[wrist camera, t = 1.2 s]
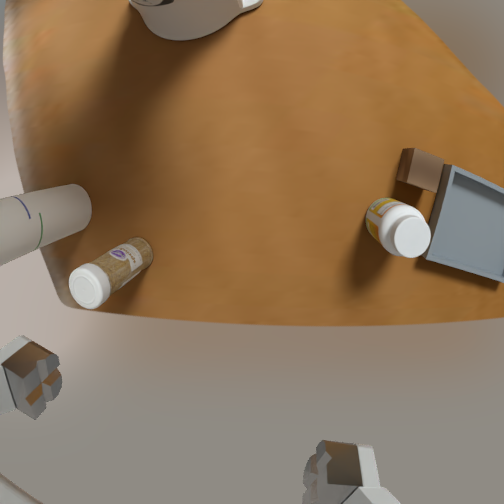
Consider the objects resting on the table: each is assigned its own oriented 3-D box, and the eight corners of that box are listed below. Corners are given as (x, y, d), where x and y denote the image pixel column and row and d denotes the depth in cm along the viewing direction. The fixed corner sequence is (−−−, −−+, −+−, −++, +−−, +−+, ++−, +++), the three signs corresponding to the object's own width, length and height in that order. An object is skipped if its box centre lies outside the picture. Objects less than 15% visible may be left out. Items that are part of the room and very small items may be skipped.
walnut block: (402, 148, 34) (414, 148, 30) (430, 159, 34) (444, 159, 30) (395, 179, 35) (406, 182, 31) (423, 189, 35) (436, 192, 31)
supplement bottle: (396, 245, 37) (425, 271, 28) (358, 233, 37) (379, 256, 28) (410, 205, 35) (444, 220, 26) (372, 191, 36) (398, 201, 26)
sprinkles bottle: (154, 239, 41) (100, 274, 28) (153, 271, 42) (102, 315, 29) (125, 233, 41) (65, 264, 28) (124, 265, 42) (68, 304, 30)
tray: (443, 164, 33) (452, 164, 31) (524, 202, 32) (533, 205, 30) (419, 253, 37) (426, 259, 35) (500, 278, 36) (509, 284, 34)
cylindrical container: (78, 174, 39) (-70, 204, 16) (99, 217, 41) (-45, 277, 17) (50, 200, 41) (-83, 242, 17) (69, 239, 43) (-60, 304, 19)
